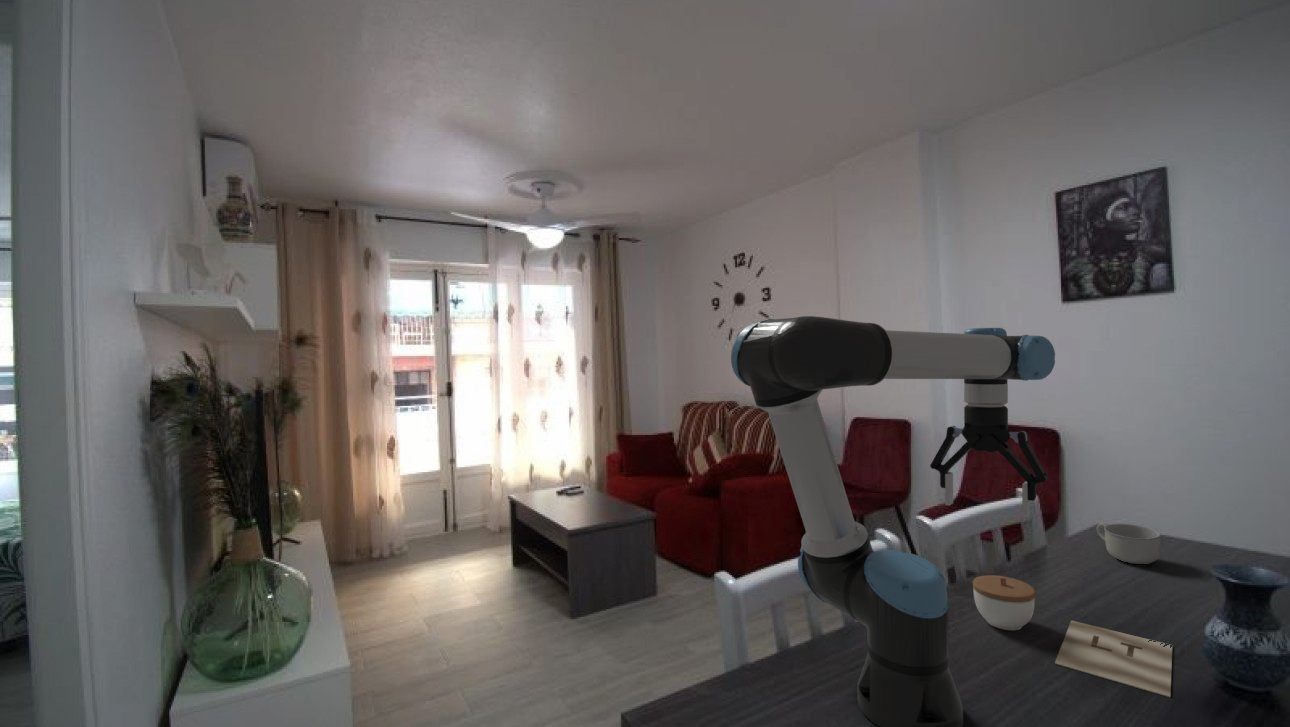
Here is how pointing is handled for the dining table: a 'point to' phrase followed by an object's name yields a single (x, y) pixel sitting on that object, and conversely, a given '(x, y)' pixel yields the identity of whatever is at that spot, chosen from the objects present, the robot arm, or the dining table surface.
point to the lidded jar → (1004, 601)
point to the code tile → (1117, 657)
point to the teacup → (1131, 542)
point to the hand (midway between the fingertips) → (986, 510)
